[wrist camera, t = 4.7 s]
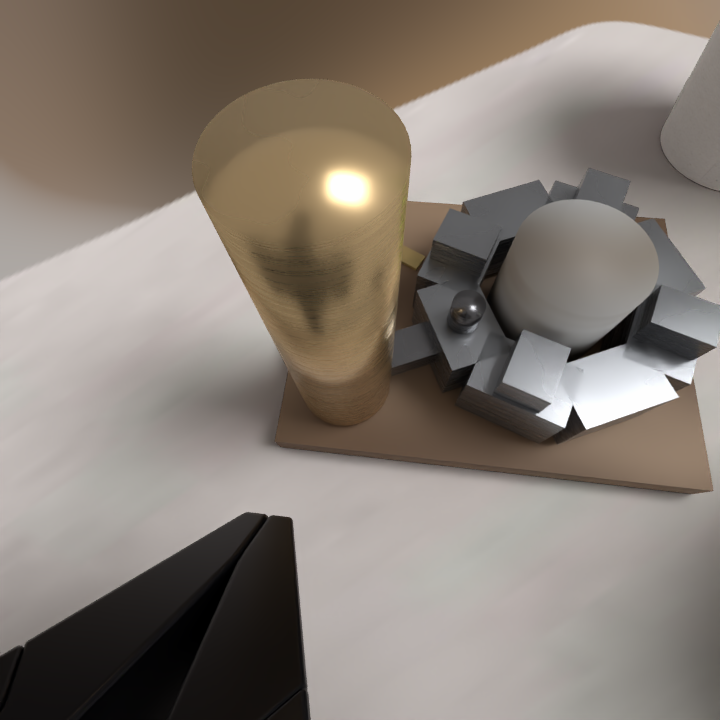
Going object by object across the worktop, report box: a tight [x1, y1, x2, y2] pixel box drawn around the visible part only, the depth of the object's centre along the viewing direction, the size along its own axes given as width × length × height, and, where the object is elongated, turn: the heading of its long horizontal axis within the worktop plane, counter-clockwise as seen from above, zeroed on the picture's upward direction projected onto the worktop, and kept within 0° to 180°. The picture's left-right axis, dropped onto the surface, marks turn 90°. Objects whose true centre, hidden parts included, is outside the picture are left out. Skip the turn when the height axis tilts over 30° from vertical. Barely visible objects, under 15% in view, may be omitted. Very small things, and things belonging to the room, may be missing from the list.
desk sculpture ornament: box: [192, 79, 720, 445], centre depth 11 cm, size 9×14×10 cm, turn 108°
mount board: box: [275, 199, 713, 494], centre depth 15 cm, size 11×14×5 cm
